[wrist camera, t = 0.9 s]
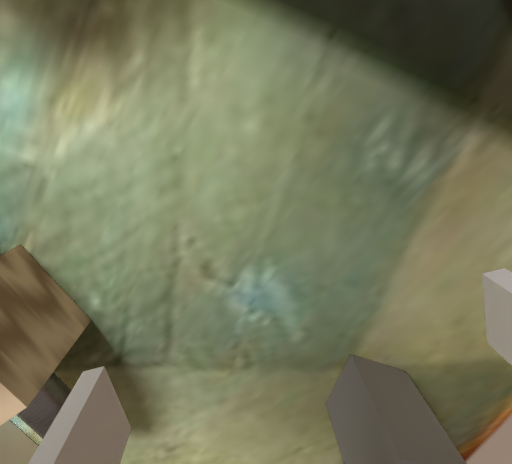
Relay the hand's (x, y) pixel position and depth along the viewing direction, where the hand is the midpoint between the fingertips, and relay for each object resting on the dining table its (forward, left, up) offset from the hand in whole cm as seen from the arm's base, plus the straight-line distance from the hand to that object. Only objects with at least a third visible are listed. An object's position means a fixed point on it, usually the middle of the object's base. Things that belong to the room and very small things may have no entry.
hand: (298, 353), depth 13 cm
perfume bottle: (+24, -3, -25) cm, 35 cm away
